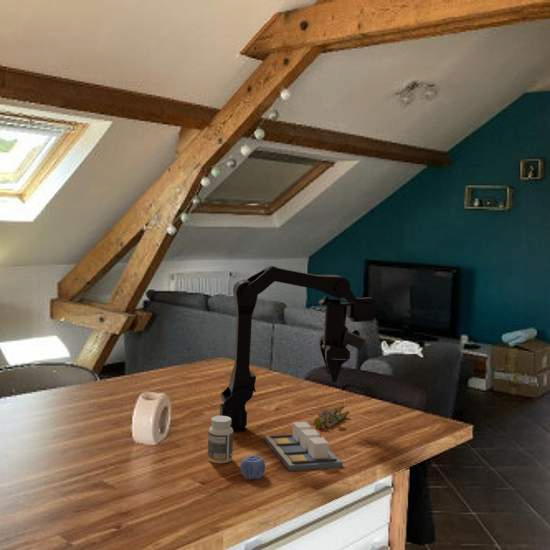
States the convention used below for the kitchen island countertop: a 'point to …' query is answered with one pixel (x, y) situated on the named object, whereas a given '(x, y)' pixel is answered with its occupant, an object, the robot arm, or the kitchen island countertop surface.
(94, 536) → the kitchen island countertop surface
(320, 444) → the white cube
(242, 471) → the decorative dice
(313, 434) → the white cube
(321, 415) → the toy
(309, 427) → the white cube
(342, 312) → the robot arm
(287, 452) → the dip bank
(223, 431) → the pill bottle
